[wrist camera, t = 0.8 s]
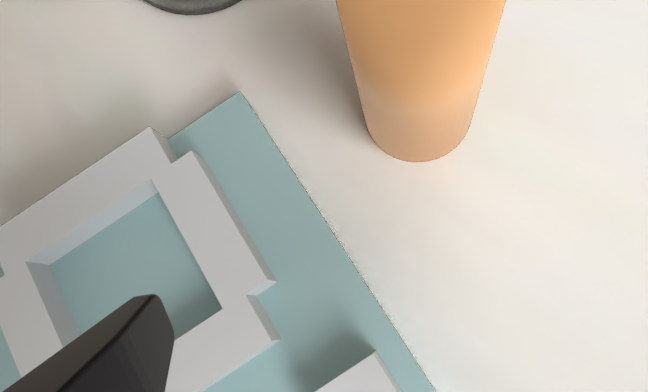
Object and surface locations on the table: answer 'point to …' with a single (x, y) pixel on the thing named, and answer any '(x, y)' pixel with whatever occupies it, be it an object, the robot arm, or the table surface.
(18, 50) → the table surface
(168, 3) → the c clamp
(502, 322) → the table surface
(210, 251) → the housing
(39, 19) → the table surface
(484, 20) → the jaw post
